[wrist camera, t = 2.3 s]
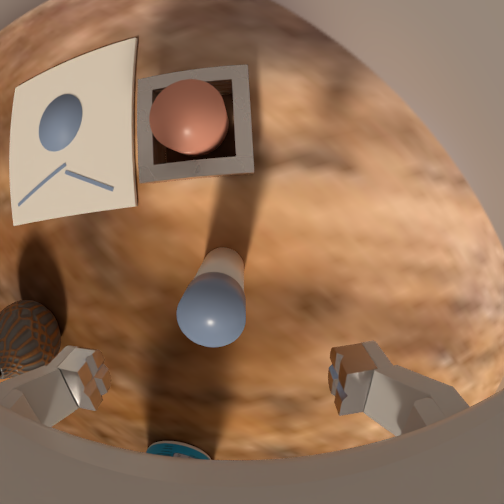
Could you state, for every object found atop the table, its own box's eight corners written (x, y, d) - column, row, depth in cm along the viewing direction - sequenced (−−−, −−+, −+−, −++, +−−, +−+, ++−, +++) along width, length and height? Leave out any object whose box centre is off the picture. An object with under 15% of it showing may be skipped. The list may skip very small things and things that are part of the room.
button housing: (154, 183, 19) (139, 183, 16) (152, 92, 17) (138, 79, 14) (252, 174, 19) (254, 172, 16) (247, 80, 17) (247, 64, 14)
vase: (15, 293, 20) (-39, 327, 12) (55, 287, 20) (-6, 330, 12) (38, 350, 22) (-5, 394, 14) (80, 352, 22) (36, 407, 14)
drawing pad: (16, 225, 19) (13, 226, 18) (17, 88, 15) (14, 87, 15) (137, 205, 19) (135, 206, 18) (137, 39, 16) (135, 36, 15)
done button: (167, 159, 17) (150, 155, 14) (165, 101, 16) (149, 85, 13) (230, 153, 17) (226, 146, 14) (227, 93, 16) (223, 75, 13)
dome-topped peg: (204, 289, 21) (182, 347, 13) (199, 247, 20) (171, 287, 12) (246, 286, 21) (247, 345, 13) (244, 244, 20) (243, 283, 12)
